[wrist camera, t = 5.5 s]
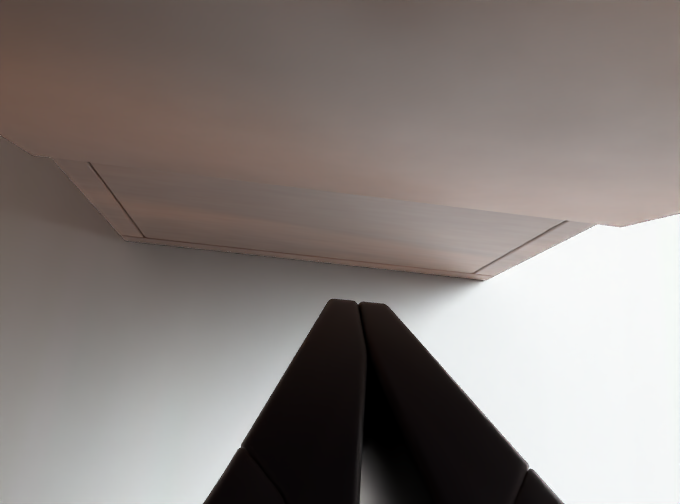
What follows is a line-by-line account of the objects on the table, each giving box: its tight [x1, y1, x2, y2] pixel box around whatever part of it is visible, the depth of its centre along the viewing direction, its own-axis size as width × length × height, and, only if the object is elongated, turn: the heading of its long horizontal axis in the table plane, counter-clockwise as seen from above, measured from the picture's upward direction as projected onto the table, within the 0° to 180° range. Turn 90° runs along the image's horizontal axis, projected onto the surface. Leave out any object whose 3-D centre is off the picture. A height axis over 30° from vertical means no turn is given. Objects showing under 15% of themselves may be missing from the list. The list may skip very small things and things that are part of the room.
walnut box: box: [51, 158, 597, 280], centre depth 18 cm, size 13×13×8 cm
